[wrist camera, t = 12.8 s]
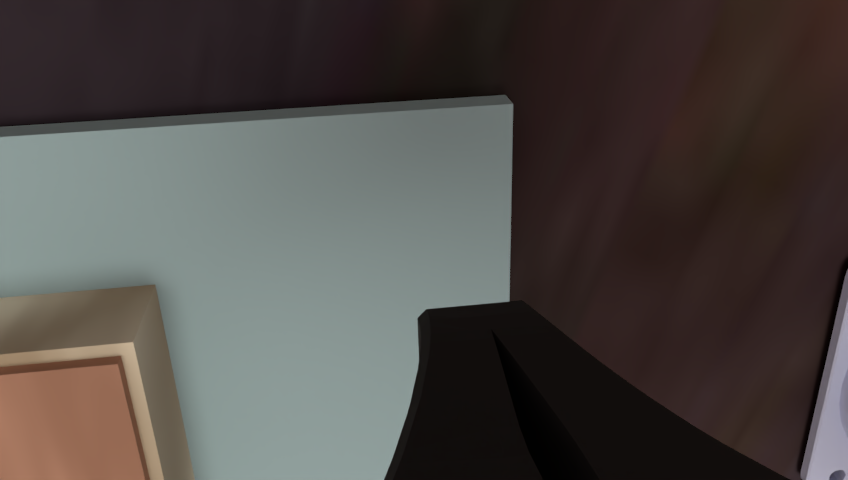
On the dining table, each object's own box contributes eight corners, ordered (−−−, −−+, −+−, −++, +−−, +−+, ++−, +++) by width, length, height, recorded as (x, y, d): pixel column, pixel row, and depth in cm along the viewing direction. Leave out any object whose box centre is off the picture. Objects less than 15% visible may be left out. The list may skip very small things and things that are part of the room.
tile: (130, 350, 16) (-245, 384, 15) (185, 595, 19) (-125, 634, 18) (155, 284, 18) (-165, 311, 18) (201, 510, 21) (-71, 541, 21)
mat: (505, 94, 18) (513, 103, 18) (498, 538, 24) (504, 558, 24) (-285, 144, 17) (-312, 156, 16) (-81, 609, 23) (-95, 633, 22)
